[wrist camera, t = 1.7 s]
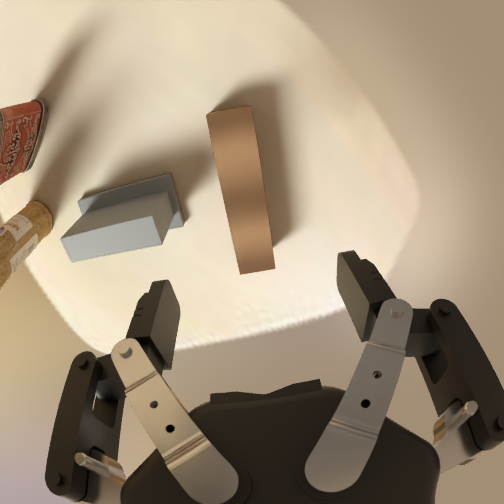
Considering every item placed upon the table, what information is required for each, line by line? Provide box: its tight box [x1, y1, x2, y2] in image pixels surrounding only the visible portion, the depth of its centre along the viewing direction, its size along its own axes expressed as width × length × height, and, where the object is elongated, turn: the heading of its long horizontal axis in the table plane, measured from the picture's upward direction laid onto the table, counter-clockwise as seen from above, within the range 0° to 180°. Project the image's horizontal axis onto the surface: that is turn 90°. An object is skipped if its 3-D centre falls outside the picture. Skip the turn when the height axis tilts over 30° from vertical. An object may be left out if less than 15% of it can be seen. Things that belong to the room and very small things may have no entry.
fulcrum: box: [60, 173, 185, 262], centre depth 21 cm, size 5×10×6 cm, turn 99°
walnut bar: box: [206, 106, 275, 275], centre depth 22 cm, size 14×3×4 cm, turn 9°
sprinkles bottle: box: [0, 201, 52, 289], centre depth 17 cm, size 5×5×13 cm
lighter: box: [0, 98, 49, 185], centre depth 14 cm, size 8×3×10 cm, turn 145°
